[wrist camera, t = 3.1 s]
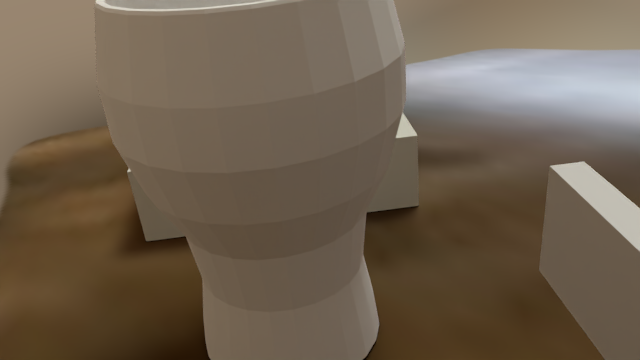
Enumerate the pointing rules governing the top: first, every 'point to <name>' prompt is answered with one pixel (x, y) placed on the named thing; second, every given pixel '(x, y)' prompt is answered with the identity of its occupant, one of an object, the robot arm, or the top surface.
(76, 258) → the top surface
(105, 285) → the top surface
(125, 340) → the top surface
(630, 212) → the robot arm
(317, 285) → the cup
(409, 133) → the stand
